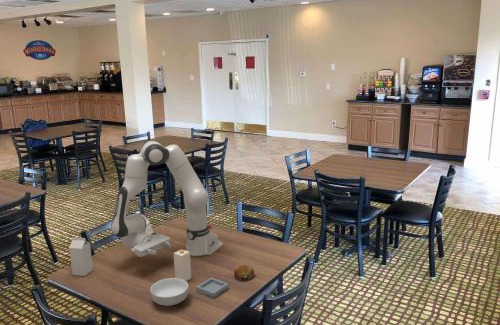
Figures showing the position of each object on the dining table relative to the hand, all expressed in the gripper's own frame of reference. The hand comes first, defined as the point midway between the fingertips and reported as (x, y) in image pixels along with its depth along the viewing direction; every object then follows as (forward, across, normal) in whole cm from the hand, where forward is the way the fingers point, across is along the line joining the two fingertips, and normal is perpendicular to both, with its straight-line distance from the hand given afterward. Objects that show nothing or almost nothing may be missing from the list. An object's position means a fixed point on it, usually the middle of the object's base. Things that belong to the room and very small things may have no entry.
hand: (163, 249), depth 213 cm
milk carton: (-35, -23, +14) cm, 44 cm away
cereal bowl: (+22, -17, +13) cm, 31 cm away
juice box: (+13, +1, +12) cm, 18 cm away
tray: (+32, +1, +12) cm, 34 cm away
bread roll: (+36, +19, +12) cm, 43 cm away
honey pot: (-41, +21, +13) cm, 48 cm away
